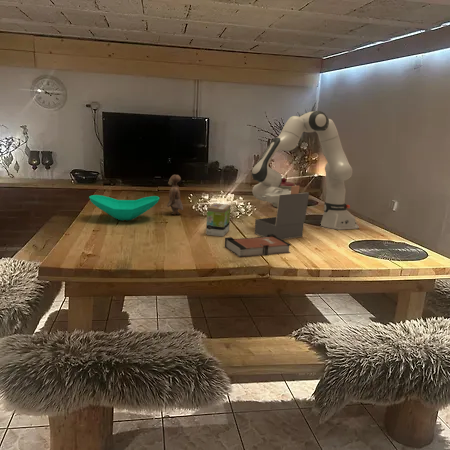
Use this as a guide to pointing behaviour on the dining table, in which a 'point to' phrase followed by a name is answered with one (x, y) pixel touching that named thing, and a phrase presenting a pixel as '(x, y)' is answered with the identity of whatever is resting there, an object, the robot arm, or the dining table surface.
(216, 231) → the tea box
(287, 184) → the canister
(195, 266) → the dining table surface
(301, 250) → the dining table surface
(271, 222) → the box
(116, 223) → the dining table surface
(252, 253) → the book
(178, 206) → the clay figurine
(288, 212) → the lid
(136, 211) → the table top decor
